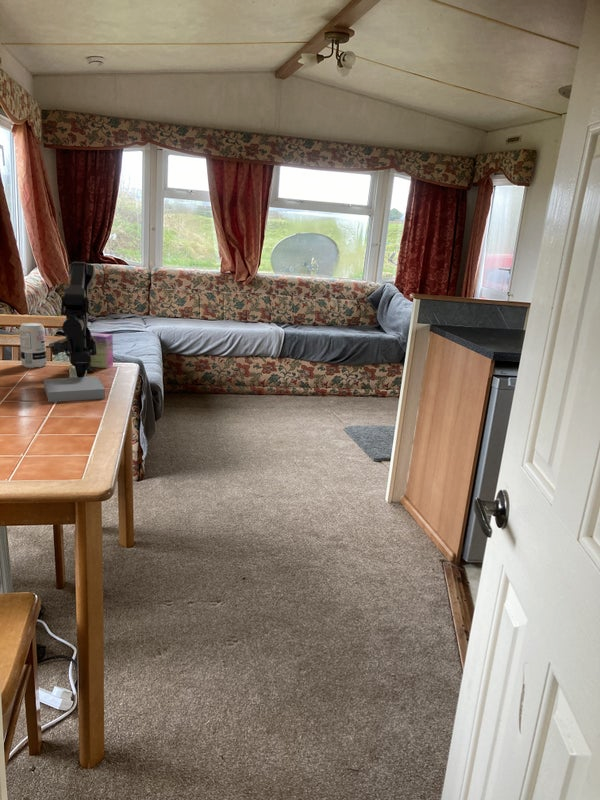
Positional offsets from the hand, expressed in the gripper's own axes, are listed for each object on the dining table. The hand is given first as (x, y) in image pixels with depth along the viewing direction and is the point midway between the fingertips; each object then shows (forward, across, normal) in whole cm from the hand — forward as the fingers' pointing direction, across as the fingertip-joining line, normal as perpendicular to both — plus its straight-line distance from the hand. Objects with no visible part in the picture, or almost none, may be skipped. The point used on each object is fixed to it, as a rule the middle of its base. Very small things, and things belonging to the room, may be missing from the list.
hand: (78, 377), depth 202 cm
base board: (+1, +15, -3) cm, 15 cm away
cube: (+1, 0, 0) cm, 1 cm away
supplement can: (+1, -25, -12) cm, 28 cm away
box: (+1, -21, +9) cm, 23 cm away
